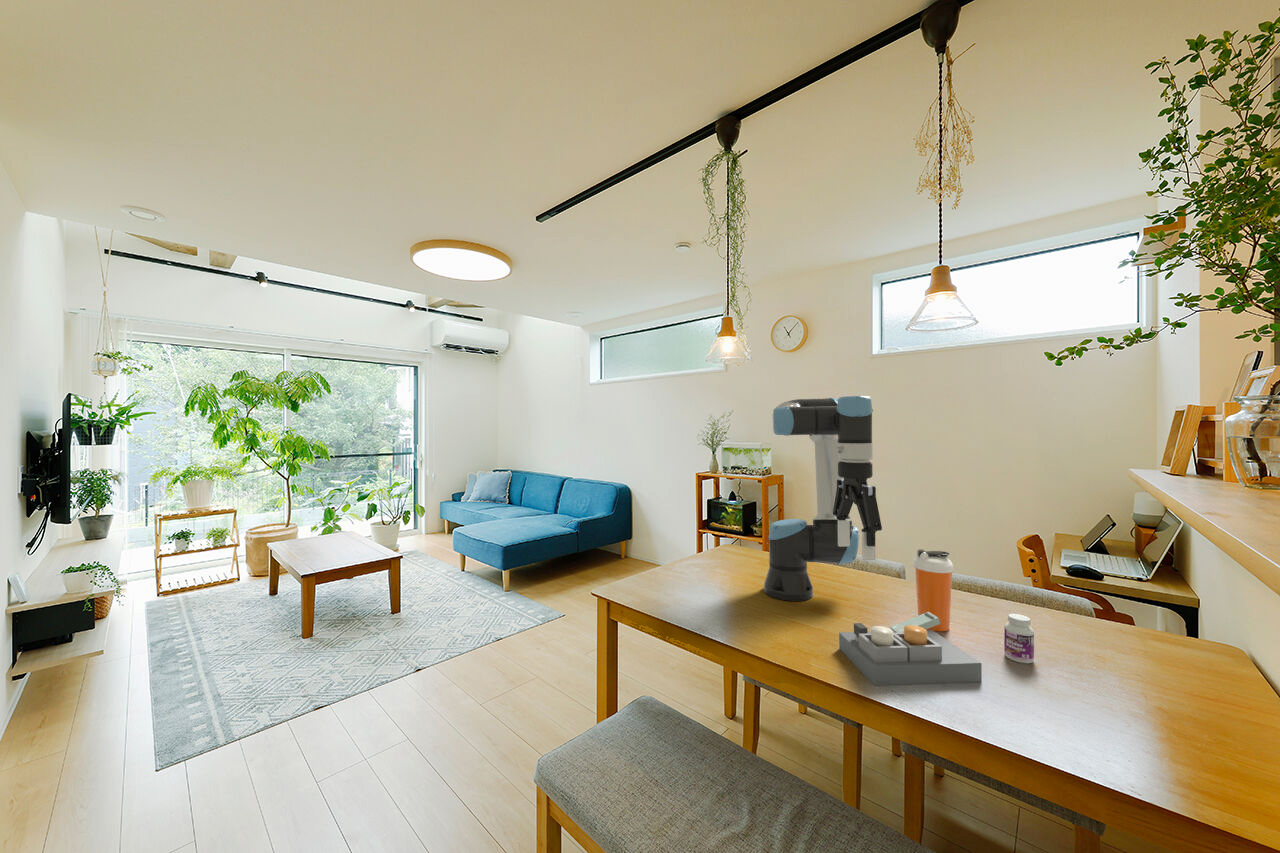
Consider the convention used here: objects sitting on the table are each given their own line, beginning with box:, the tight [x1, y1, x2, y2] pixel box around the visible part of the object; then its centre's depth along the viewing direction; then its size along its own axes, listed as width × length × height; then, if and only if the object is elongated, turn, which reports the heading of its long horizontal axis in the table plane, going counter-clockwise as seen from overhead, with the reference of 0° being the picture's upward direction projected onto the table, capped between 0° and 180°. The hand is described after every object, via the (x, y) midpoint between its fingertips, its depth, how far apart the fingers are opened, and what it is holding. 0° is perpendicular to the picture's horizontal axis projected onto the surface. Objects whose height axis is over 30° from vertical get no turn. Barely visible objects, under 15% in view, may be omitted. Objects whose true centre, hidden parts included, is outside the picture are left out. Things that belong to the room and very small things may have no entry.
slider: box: [853, 622, 869, 637], centre depth 110 cm, size 3×2×2 cm, turn 2°
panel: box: [838, 629, 983, 686], centre depth 106 cm, size 16×23×7 cm
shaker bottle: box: [913, 549, 954, 632], centre depth 126 cm, size 9×9×20 cm
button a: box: [870, 625, 894, 646], centre depth 103 cm, size 4×4×3 cm
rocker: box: [889, 612, 940, 633], centre depth 110 cm, size 4×10×2 cm, turn 92°
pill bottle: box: [1003, 613, 1035, 664], centre depth 108 cm, size 5×5×10 cm
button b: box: [904, 625, 928, 645], centre depth 103 cm, size 4×4×3 cm
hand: (855, 552), depth 112 cm, fingers open, 11 cm apart
